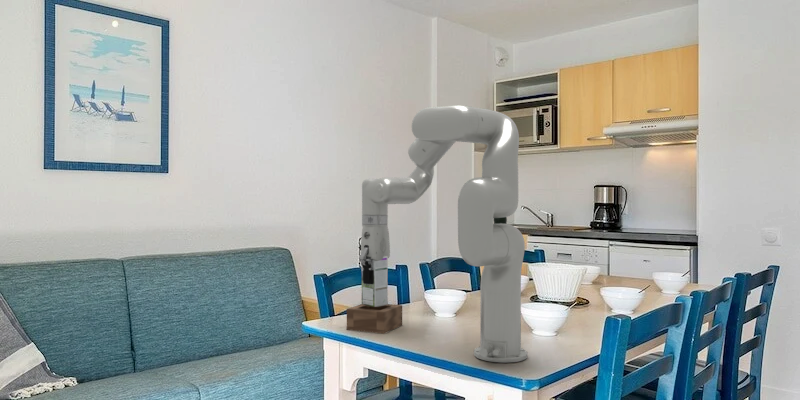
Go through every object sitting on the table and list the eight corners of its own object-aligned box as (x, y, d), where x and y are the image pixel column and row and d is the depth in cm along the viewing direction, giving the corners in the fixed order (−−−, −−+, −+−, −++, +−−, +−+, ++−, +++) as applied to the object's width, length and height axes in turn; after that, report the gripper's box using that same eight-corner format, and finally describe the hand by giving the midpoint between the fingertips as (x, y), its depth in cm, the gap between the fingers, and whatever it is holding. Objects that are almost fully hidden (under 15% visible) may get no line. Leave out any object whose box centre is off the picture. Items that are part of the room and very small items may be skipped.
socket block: (383, 333, 166) (383, 312, 166) (346, 329, 171) (346, 308, 171) (402, 325, 177) (402, 305, 177) (366, 321, 182) (366, 302, 182)
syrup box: (388, 304, 174) (388, 255, 174) (374, 307, 170) (374, 256, 170) (374, 302, 178) (375, 253, 178) (360, 304, 174) (360, 255, 174)
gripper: (371, 222, 164) (371, 287, 165) (399, 220, 180) (399, 279, 180) (348, 222, 168) (348, 285, 168) (377, 219, 183) (377, 277, 183)
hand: (374, 281), depth 174 cm, fingers closed on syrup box, 7 cm apart
